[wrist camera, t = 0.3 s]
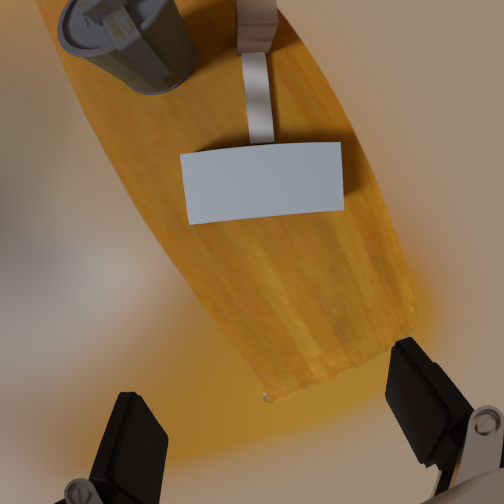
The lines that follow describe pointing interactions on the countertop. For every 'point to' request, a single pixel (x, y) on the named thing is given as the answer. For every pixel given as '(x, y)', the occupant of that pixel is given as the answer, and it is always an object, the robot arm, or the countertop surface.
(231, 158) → the shelf
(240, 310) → the countertop surface
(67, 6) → the canister
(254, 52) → the pusher
